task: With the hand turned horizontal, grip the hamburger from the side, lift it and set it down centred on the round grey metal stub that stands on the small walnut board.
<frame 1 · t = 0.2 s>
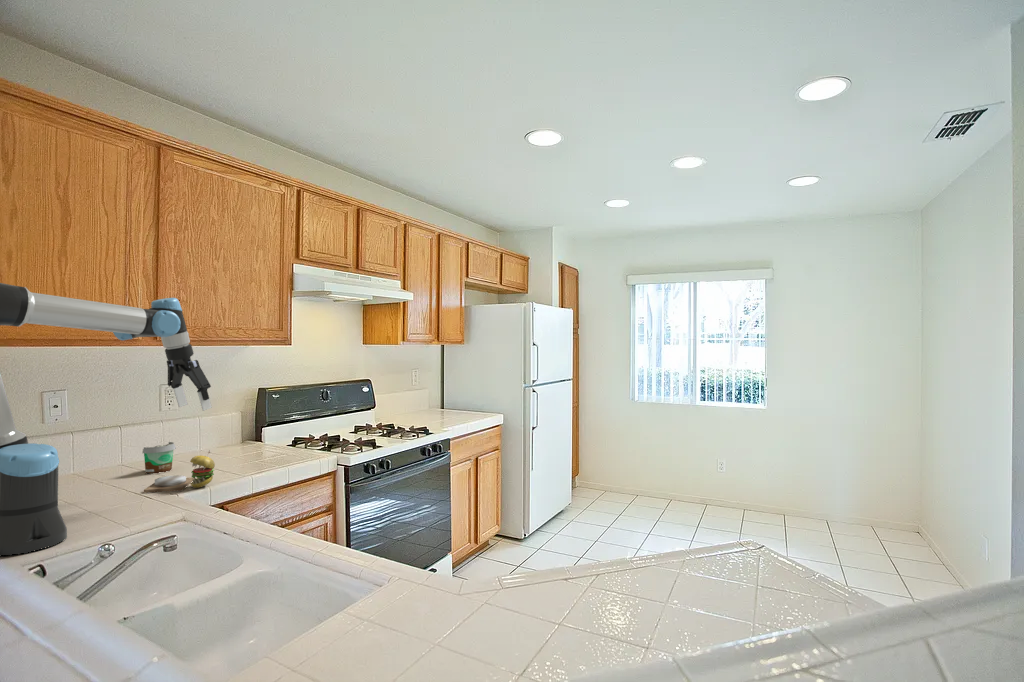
hand: (195, 407, 179), 27 cm above the counter, tool tilted 15°, fingers open, 13 cm apart
hamburger: (202, 487, 182), on the counter
food container: (163, 471, 203), on the counter
stub stand: (170, 486, 182), on the counter
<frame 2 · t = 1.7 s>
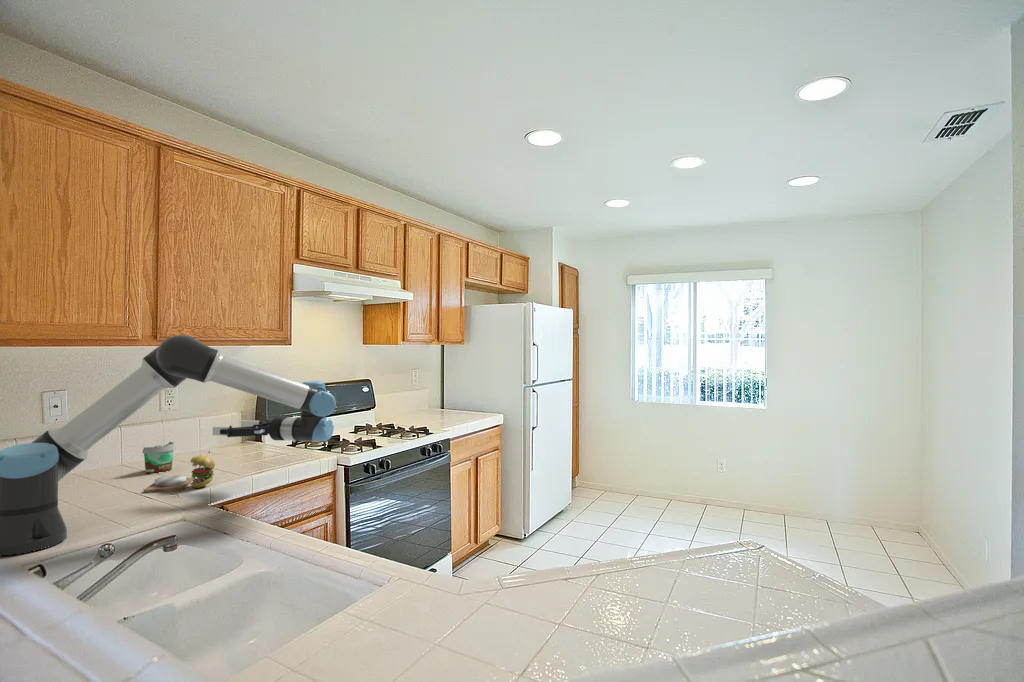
hand: (227, 427, 180), 20 cm above the counter, tool horizontal, fingers open, 13 cm apart
nothing on the counter moved.
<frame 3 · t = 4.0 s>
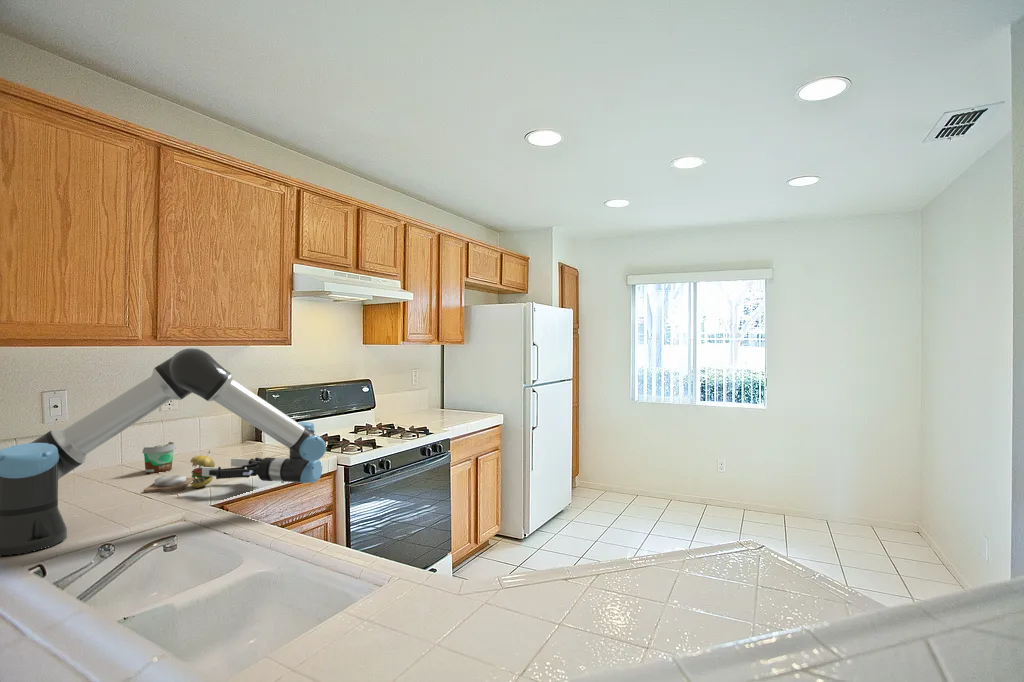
hand: (217, 466, 182), 7 cm above the counter, tool horizontal, fingers open, 13 cm apart
nothing on the counter moved.
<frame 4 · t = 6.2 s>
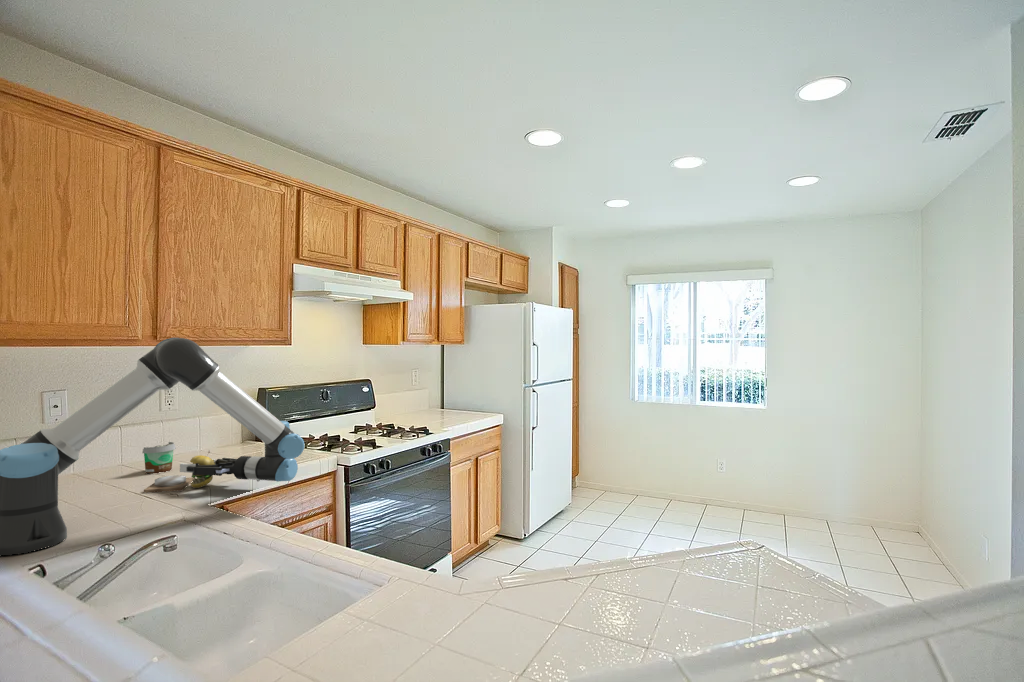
hand: (189, 465, 183), 7 cm above the counter, tool horizontal, fingers closed on hamburger, 7 cm apart
hamburger: (202, 487, 182), on the counter, touching gripper
everything else where it was.
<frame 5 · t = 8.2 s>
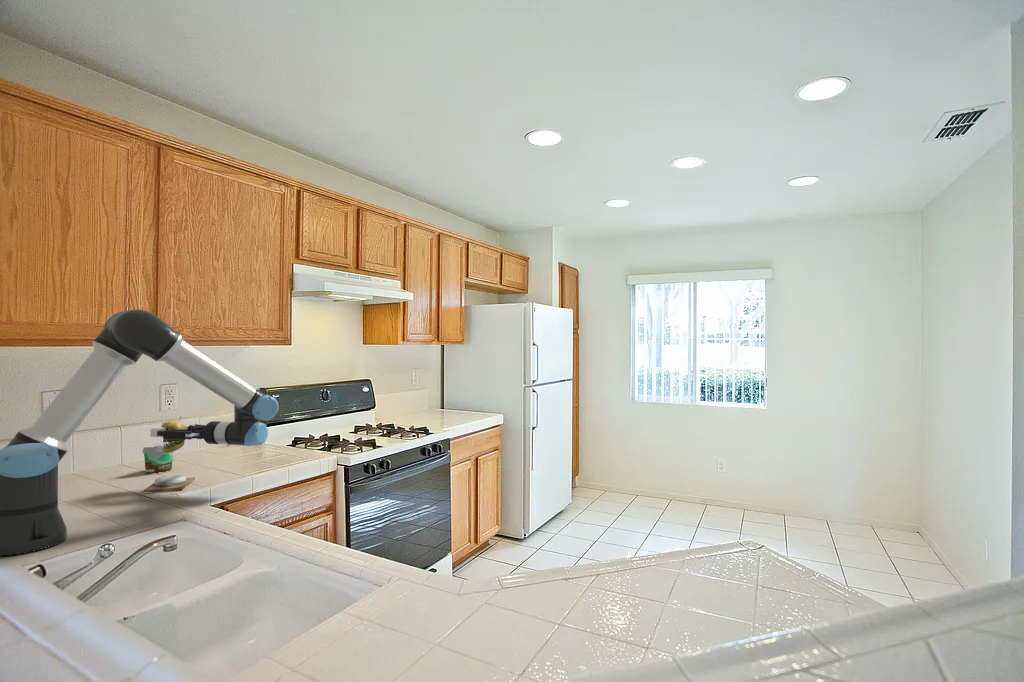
hand: (161, 430, 183), 19 cm above the counter, tool horizontal, fingers closed on hamburger, 7 cm apart
hamburger: (173, 452, 182), point 11 cm above the counter, touching gripper
everything else where it was.
when the fingers open (11 cm above the counter, at t = 10.2 s): hamburger stays where it is, resting on stub stand.
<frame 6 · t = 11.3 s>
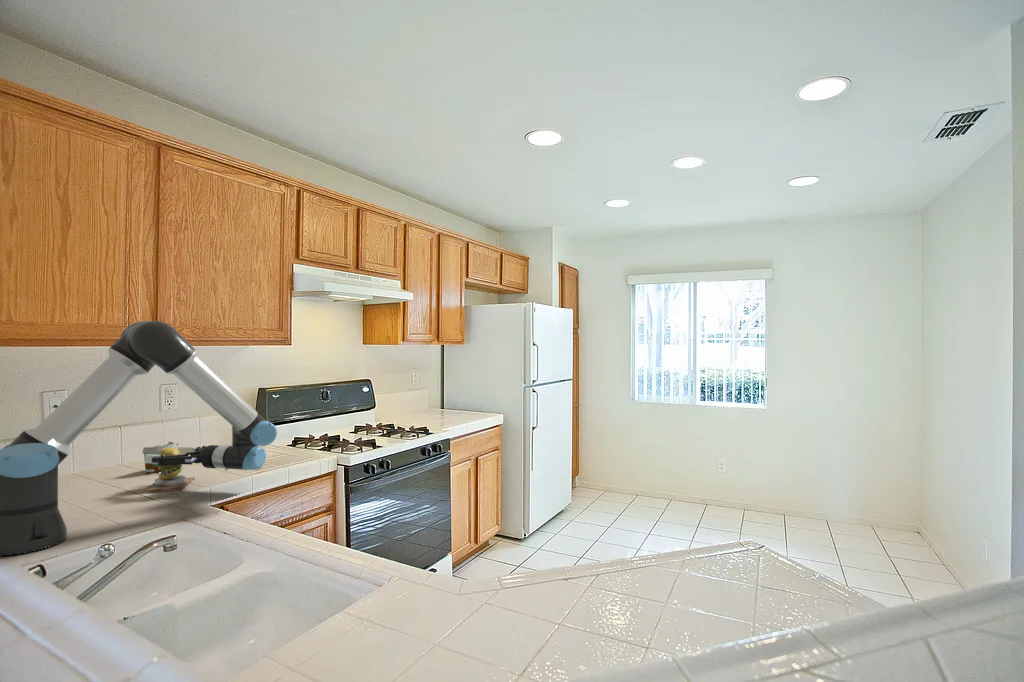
hand: (162, 454, 183), 11 cm above the counter, tool horizontal, fingers open, 13 cm apart
hamburger: (170, 479, 182), point 2 cm above the counter, touching stub stand
everything else where it was.
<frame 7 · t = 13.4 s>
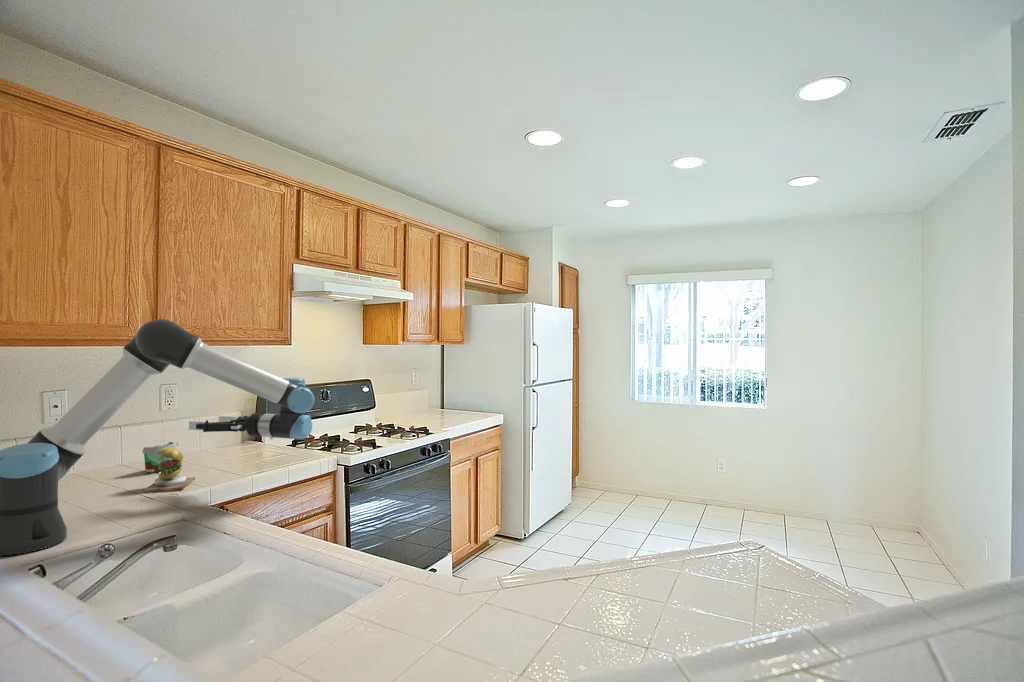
hand: (204, 422, 178), 22 cm above the counter, tool horizontal, fingers open, 13 cm apart
nothing on the counter moved.
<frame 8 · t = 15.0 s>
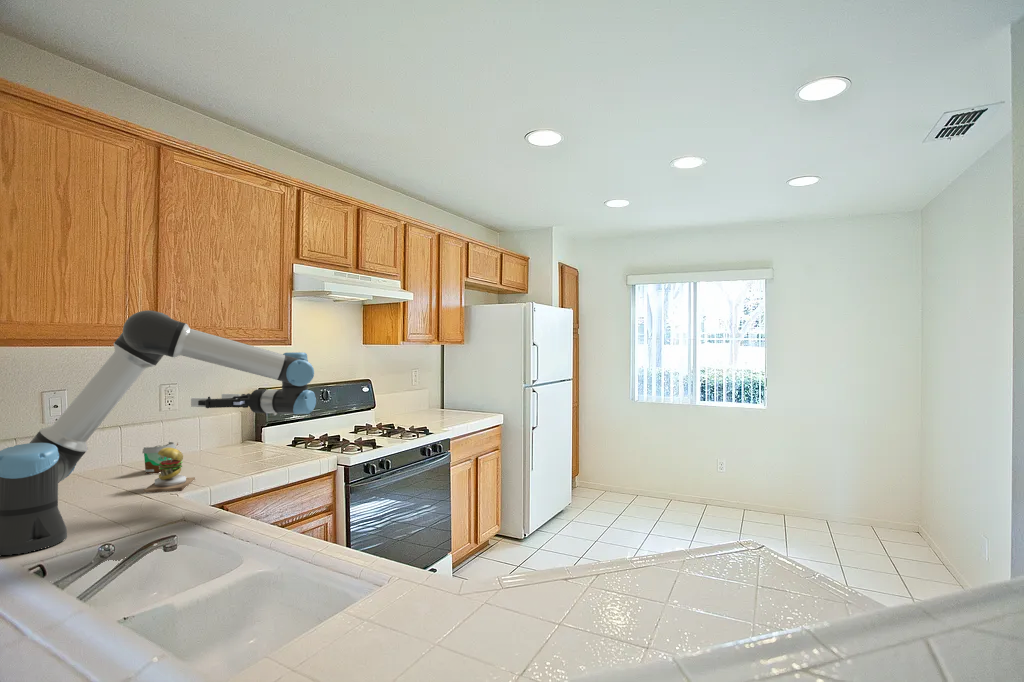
hand: (207, 399, 175), 30 cm above the counter, tool horizontal, fingers open, 13 cm apart
nothing on the counter moved.
at the end: hamburger 0.1 cm from the stub stand (horizontally); hamburger touching stub stand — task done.
